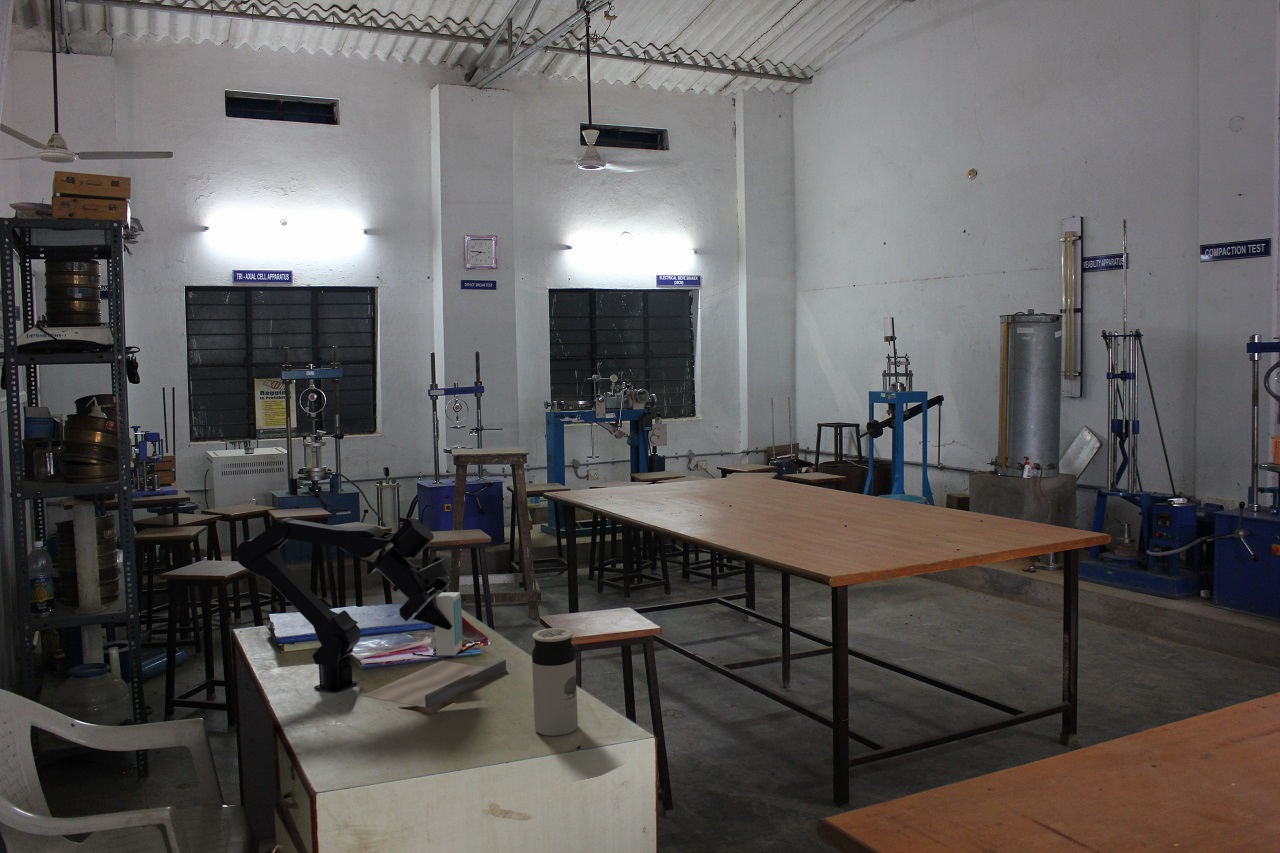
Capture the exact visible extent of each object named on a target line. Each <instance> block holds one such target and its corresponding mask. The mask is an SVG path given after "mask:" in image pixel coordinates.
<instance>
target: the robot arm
mask: <svg viewBox="0 0 1280 853" xmlns="http://www.w3.org/2000/svg"><path fill="white" fill-rule="evenodd" d="M434 538H435V536H434V533H433V532H432V530H431V529H430V528H429V527H428V526H426V525H424V524H422V522H419V521H418V520H415V519H414V518H413V517H409V518H407V519H406V520H405V521H404V522H403V524H402V525H401V527H400V528H398V530H397V531H396V532H391V531H384V530H383V529H382V528H381V527H380V526H376V525H360V526H349V527H347V526H345V527H343V526H337V525H331V524H324V523H318V522H312V521H305V520H299V519H294V518H292V517H286V518H282V519H280V520H277V521H276V522H274V524H273V525H271V526H270V527H268V528H267V529H266V530H264V531H263V532H260V534H258V535H257V536H255V537H253V538H250V539H248V540H245V541H242V542H241V543H240V544H238V546H237V548H236V551H235V554H236V556H235V559H236V561H237V562H238V564H239V565H240V566H241V567H243V568H245V569H246V570H247V571H249V572H250V573H251V574H254V575H256V576H258V577H261V578H264V579H266V580H267V581H268V582H269V583H270V584H271V585H272V586H273V587H274V588H275V589H276V591H278V592H279V593H280V594H281V595H282V596H283V597H284V599H286V600H287V601H288V603H290V604H291V605H292V606H293V607H294V608H295V609H296V610H297V611H298V613H300V614H301V615H302V616H303V617H304V618H305V619H306V620H307V622H308V623H309V624H311V625H312V628H314V632H315V635H316V639H317V640H318V642H319V644H320V647H319V648H318V649H317V650H316V651H315V652H314V653H313V654H312V658H313V661H314V664H315V665H317V666H318V676H319V677H318V678H319V679H318V680H319V684H317V685H314V687H313V689H314V690H317V691H323V692H329V693H332V694H333V693H338V692H341V691H344V690H345V689H348V688H350V687H352V686H355V685H357V684H358V681H357V680H353V665H352V662H351V657H349V655H350V654H353V651H354V648H355V646H356V645H358V644H359V642H360V640H361V632H362V631H361V628H360V627H359V626H358V625H357V624H358V623H359V622H358V621H357V620H355V619H353V618H352V617H351V615H350V614H349V612H347V610H345V609H344V610H342V611H340V612H335V611H334V610H333V611H332V610H331V609H330V608H329V607H328V606H327V605H326V604H325V603H324V602H323V600H321V599H320V598H319V597H318V596H317V595H316V594H315V593H314V592H313V591H312V589H310V588H309V587H308V586H307V584H305V583H304V582H303V580H301V579H300V578H299V577H298V576H297V575H296V574H295V573H294V572H293V570H291V569H290V568H289V567H288V565H287V564H286V563H285V561H284V558H283V554H282V552H281V550H280V547H281V546H283V544H285V543H286V542H287V541H288V540H291V541H292V540H294V541H299V542H306V543H311V544H318V545H323V546H329V547H335V548H338V549H341V550H342V551H344V552H346V553H347V554H350V555H353V556H356V557H359V558H369V557H372V556H373V555H375V554H377V553H379V552H380V551H381V552H380V553H379V554H377V555H376V557H375V558H374V559H369V560H367V561H366V567H367V569H366V574H367V575H371V574H373V573H374V572H376V571H378V572H379V573H380V574H381V575H382V576H383V577H384V578H386V579H387V580H388V581H389V582H390V583H391V584H392V585H393V587H392V590H393V591H394V592H395V593H397V592H398V591H399V592H400V593H401V594H402V595H403V596H404V597H405V598H406V599H407V601H406V602H404V604H402V605H401V606H400V608H399V617H401V618H402V619H403V620H404V621H405V622H408V621H409V620H410V619H412V620H414V621H420V622H423V623H427V624H429V625H432V626H434V627H435V626H438V627H441V628H444V629H447V630H450V629H451V627H452V625H451V623H450V622H449V621H448V619H447V618H446V617H445V616H444V615H443V613H442V612H441V611H440V610H439V608H438V607H437V605H436V597H437V596H438V595H439V594H440V593H442V592H449V589H450V586H449V584H450V583H451V582H452V580H451V579H450V578H449V577H448V576H447V575H448V574H449V573H451V572H452V571H453V570H452V567H451V566H450V564H451V560H449V559H447V557H446V556H445V557H444V556H443V555H441V554H439V555H437V556H435V557H434V558H431V564H430V565H429V564H428V565H427V566H426V567H422V565H420V564H416V565H414V564H413V563H412V562H411V561H410V560H409V558H412V559H416V558H417V557H418V556H419V555H420V554H421V553H422V552H423V551H424V550H425V549H426V548H427V546H428V545H429V544H430V543H431V542H433V540H434ZM391 545H392V546H391ZM389 546H391V547H390V548H389V549H388V551H387V550H384V549H386V548H387V547H389ZM414 614H415V616H413V615H414ZM412 617H413V618H412Z"/></svg>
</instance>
